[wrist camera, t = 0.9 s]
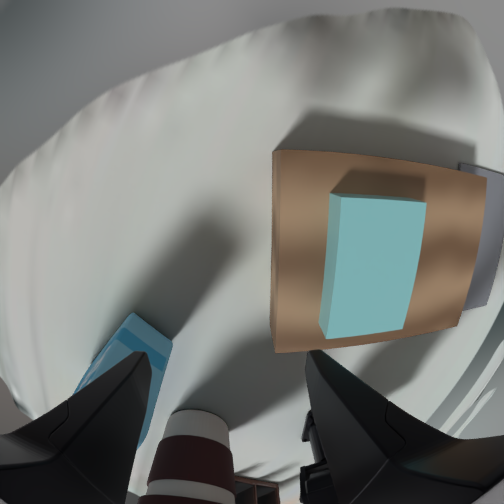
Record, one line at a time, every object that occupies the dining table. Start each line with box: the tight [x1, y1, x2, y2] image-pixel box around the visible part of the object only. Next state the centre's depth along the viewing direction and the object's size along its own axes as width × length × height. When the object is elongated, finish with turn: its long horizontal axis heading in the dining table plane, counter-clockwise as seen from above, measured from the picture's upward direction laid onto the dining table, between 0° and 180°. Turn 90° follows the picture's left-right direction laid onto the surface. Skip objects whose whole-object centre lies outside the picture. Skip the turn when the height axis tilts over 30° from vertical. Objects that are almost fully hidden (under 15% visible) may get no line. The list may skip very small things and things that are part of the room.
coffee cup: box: [137, 410, 236, 504], centre depth 20 cm, size 10×10×15 cm
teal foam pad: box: [319, 193, 427, 339], centre depth 17 cm, size 9×6×2 cm, turn 0°
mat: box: [459, 163, 504, 311], centre depth 22 cm, size 16×10×1 cm, turn 0°
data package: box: [73, 313, 173, 449], centre depth 18 cm, size 12×4×12 cm, turn 136°
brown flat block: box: [270, 149, 487, 353], centre depth 20 cm, size 14×18×4 cm
